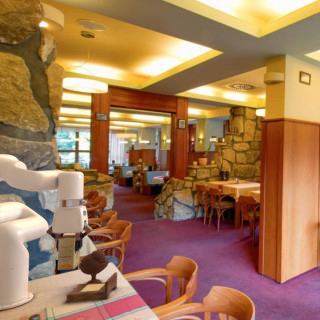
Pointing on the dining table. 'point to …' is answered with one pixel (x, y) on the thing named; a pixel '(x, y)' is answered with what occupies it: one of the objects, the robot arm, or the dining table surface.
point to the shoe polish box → (67, 253)
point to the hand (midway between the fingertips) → (69, 249)
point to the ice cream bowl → (94, 264)
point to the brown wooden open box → (93, 290)
